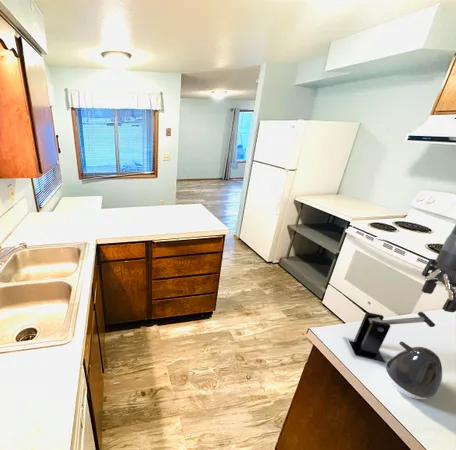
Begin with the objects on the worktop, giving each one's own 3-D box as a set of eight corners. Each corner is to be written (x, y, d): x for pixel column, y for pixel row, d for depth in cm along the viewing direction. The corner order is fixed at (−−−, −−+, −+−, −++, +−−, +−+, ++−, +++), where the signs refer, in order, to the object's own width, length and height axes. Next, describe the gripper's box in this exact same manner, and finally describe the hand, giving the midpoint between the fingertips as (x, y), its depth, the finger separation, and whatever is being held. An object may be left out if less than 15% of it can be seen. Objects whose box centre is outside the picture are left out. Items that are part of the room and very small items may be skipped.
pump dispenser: (381, 362, 76) (402, 328, 69) (428, 386, 69) (457, 351, 63) (377, 385, 69) (400, 351, 63) (429, 414, 63) (460, 379, 56)
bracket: (372, 344, 83) (386, 313, 78) (384, 364, 76) (401, 331, 71) (345, 338, 85) (357, 307, 80) (354, 357, 78) (368, 324, 73)
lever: (424, 316, 74) (423, 310, 73) (435, 328, 69) (434, 321, 69) (367, 321, 79) (366, 315, 79) (375, 332, 75) (373, 326, 75)
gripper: (510, 267, 56) (475, 321, 61) (460, 242, 68) (435, 289, 74) (467, 261, 58) (437, 314, 64) (427, 238, 70) (405, 284, 76)
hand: (436, 301), depth 69 cm, fingers open, 8 cm apart
